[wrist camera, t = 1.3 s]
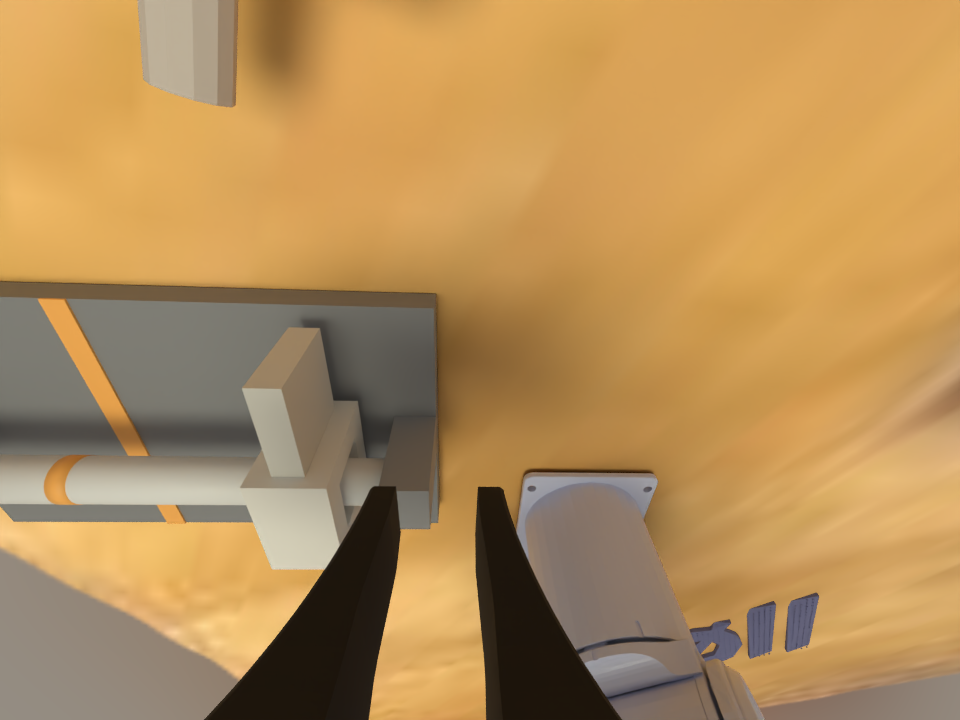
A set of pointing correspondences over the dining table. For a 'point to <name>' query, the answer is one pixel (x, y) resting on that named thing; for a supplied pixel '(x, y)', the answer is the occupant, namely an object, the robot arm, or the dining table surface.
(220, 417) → the pipe board
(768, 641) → the signage
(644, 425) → the dining table surface
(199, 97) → the pipe connector
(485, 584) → the robot arm
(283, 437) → the collar
